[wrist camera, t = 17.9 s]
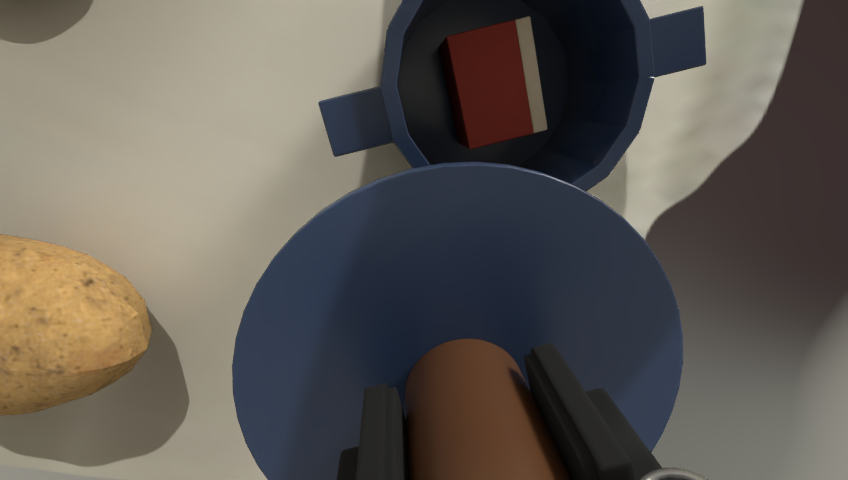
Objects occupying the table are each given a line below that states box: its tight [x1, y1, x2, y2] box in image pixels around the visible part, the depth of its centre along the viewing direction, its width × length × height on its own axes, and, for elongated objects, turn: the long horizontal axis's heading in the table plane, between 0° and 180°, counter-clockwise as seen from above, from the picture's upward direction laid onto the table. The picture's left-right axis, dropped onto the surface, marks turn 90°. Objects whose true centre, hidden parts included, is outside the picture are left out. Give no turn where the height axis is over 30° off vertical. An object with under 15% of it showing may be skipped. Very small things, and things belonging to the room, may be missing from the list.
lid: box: [232, 162, 683, 480], centre depth 10 cm, size 12×12×7 cm
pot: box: [319, 0, 706, 192], centre depth 23 cm, size 11×17×8 cm
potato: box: [0, 234, 152, 415], centre depth 25 cm, size 10×14×8 cm
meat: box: [438, 16, 547, 149], centre depth 25 cm, size 6×4×4 cm
